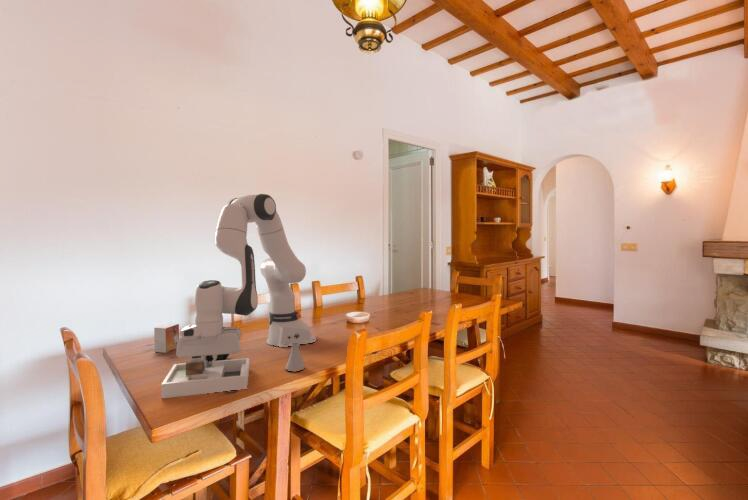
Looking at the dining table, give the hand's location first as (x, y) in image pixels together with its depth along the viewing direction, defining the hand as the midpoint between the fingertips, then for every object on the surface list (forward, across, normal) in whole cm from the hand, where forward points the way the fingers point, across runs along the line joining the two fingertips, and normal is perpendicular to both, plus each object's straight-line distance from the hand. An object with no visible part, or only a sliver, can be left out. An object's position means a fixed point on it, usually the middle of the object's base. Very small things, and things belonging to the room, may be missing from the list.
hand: (209, 367), depth 126 cm
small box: (+4, +21, -37) cm, 43 cm away
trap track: (+4, 0, +3) cm, 5 cm away
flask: (+4, -29, -2) cm, 30 cm away
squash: (+4, +1, -17) cm, 17 cm away
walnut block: (+1, +4, 0) cm, 5 cm away
